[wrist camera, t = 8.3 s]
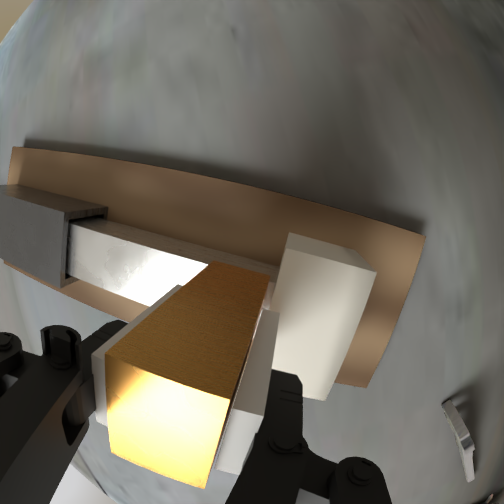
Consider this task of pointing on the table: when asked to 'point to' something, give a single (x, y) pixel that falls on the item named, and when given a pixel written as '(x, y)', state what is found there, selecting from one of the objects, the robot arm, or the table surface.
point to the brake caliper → (489, 500)
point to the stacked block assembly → (172, 341)
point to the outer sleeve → (40, 230)
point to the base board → (228, 232)
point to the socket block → (318, 310)
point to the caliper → (461, 438)
